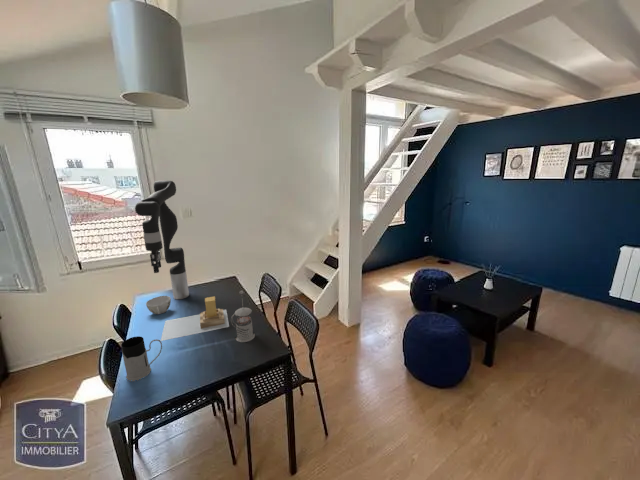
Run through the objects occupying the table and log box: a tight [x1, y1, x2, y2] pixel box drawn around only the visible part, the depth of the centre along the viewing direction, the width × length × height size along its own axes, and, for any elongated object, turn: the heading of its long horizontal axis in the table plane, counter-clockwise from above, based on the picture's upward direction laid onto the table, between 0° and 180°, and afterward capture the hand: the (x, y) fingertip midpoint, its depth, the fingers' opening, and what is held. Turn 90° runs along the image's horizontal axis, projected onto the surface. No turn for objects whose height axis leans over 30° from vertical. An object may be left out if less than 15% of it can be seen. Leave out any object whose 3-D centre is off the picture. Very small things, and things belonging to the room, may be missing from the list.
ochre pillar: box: [204, 296, 217, 318], centre depth 150 cm, size 5×5×10 cm
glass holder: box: [120, 336, 163, 382], centre depth 113 cm, size 9×14×15 cm, turn 114°
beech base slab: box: [199, 308, 225, 328], centre depth 151 cm, size 12×12×4 cm
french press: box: [230, 290, 256, 343], centre depth 136 cm, size 10×12×25 cm
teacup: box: [145, 295, 172, 315], centre depth 160 cm, size 15×12×8 cm
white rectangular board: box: [160, 309, 230, 342], centre depth 149 cm, size 20×32×1 cm, turn 113°
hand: (157, 269), depth 146 cm, fingers open, 8 cm apart
